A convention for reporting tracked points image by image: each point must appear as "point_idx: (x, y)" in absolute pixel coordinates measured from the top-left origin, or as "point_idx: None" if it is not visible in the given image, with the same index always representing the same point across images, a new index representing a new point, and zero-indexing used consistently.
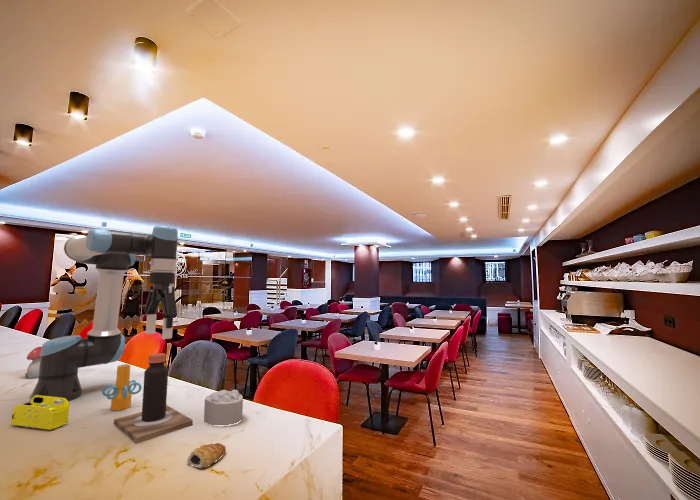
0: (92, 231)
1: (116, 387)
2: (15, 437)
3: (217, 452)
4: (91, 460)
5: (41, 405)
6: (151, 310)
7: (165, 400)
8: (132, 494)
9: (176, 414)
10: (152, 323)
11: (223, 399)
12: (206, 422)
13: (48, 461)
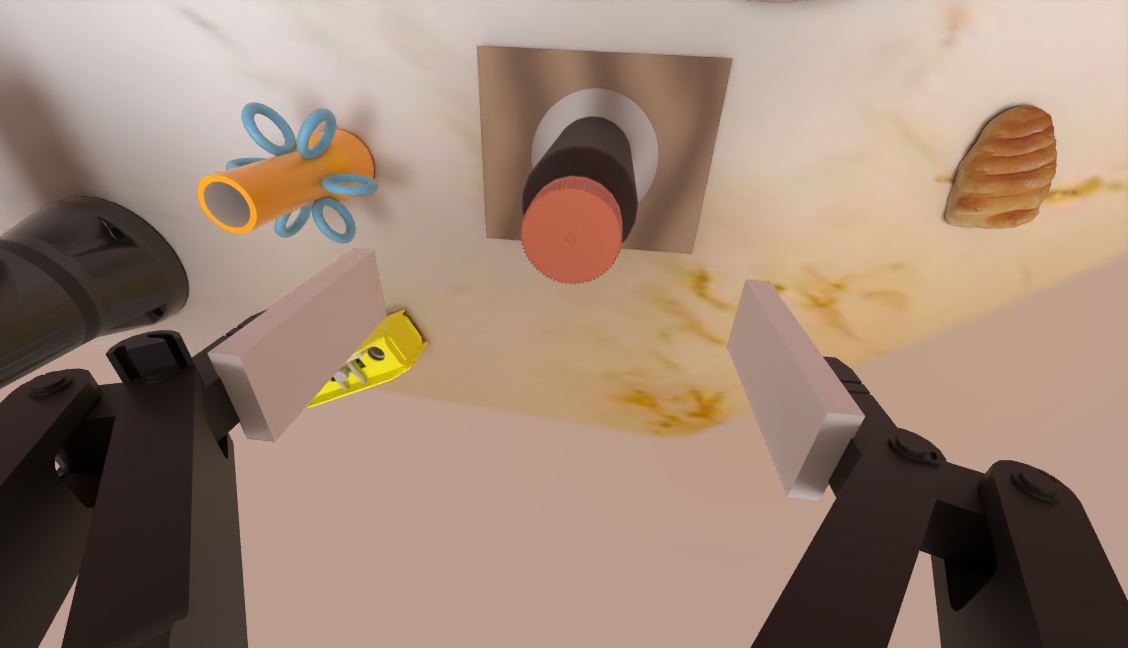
0: None
1: (318, 210)
2: (413, 385)
3: (1055, 164)
4: (682, 338)
5: (347, 378)
6: (221, 458)
7: (624, 141)
8: (911, 343)
9: (618, 73)
10: (327, 326)
11: None
12: (765, 1)
13: (606, 381)
